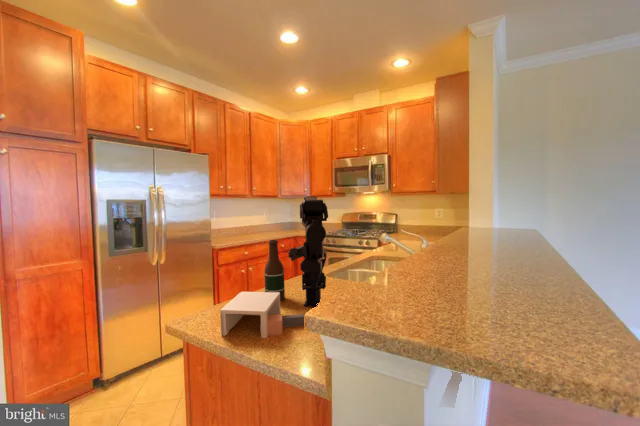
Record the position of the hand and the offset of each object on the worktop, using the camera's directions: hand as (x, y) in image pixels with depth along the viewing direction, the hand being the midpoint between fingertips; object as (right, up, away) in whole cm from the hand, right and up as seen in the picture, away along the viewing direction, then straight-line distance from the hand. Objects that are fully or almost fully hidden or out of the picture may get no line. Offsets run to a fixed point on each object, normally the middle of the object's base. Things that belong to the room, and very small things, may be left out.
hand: (315, 284), depth 95 cm
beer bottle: (-16, -11, +20) cm, 28 cm away
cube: (-12, -13, -6) cm, 19 cm away
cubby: (-20, -13, -2) cm, 24 cm away
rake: (-7, -13, -4) cm, 15 cm away
